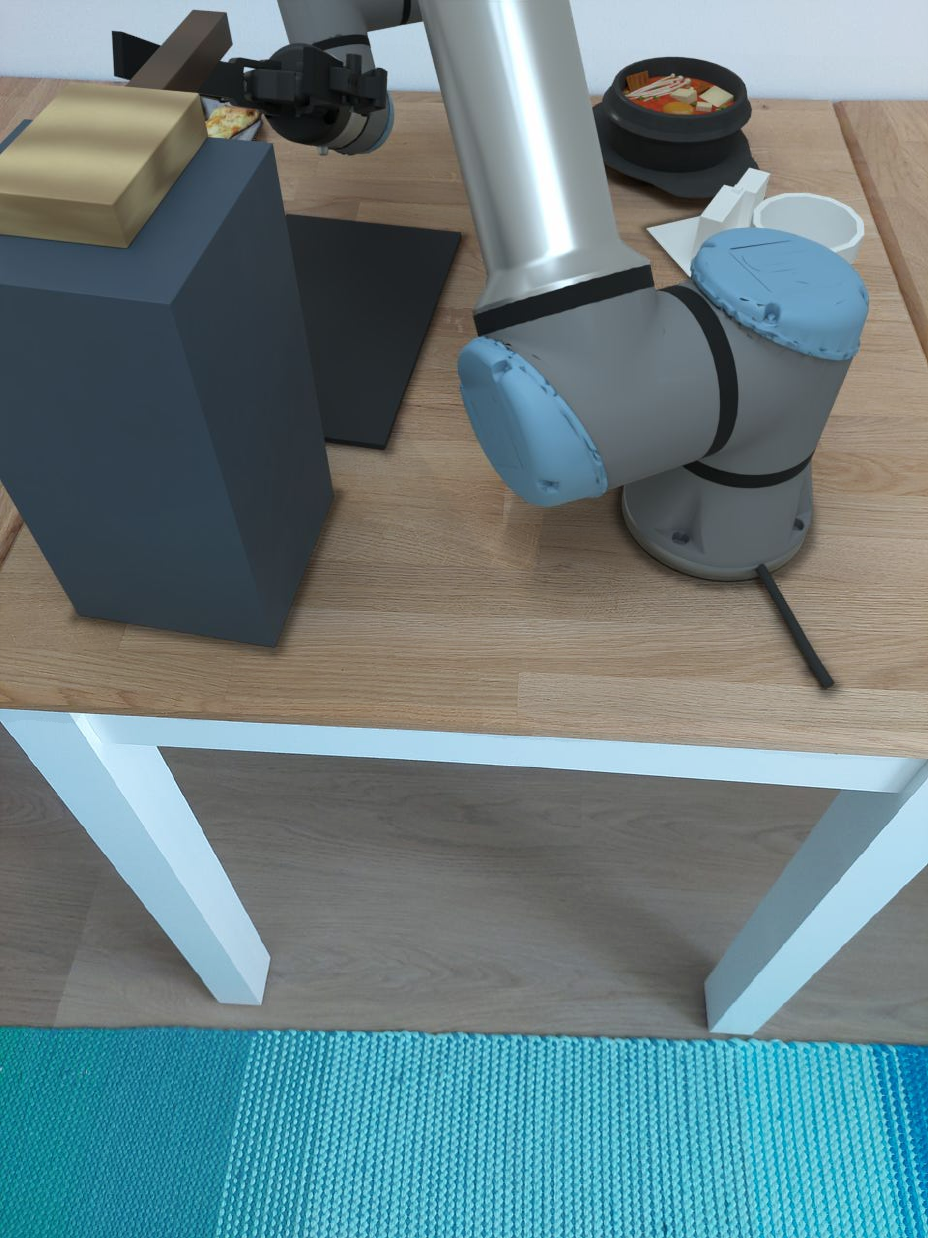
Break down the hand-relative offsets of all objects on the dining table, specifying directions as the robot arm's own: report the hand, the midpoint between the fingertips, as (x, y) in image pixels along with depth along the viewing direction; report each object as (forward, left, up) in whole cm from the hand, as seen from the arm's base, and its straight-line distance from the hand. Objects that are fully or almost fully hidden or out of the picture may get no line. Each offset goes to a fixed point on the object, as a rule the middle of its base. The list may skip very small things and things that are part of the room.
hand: (211, 61), depth 63 cm
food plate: (+50, +13, -30) cm, 60 cm away
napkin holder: (+18, -49, -30) cm, 60 cm away
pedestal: (-18, +6, -29) cm, 35 cm away
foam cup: (0, -47, -30) cm, 56 cm away
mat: (+11, -5, -29) cm, 32 cm away
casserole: (+36, -47, -30) cm, 66 cm away
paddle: (-10, +4, +1) cm, 11 cm away
